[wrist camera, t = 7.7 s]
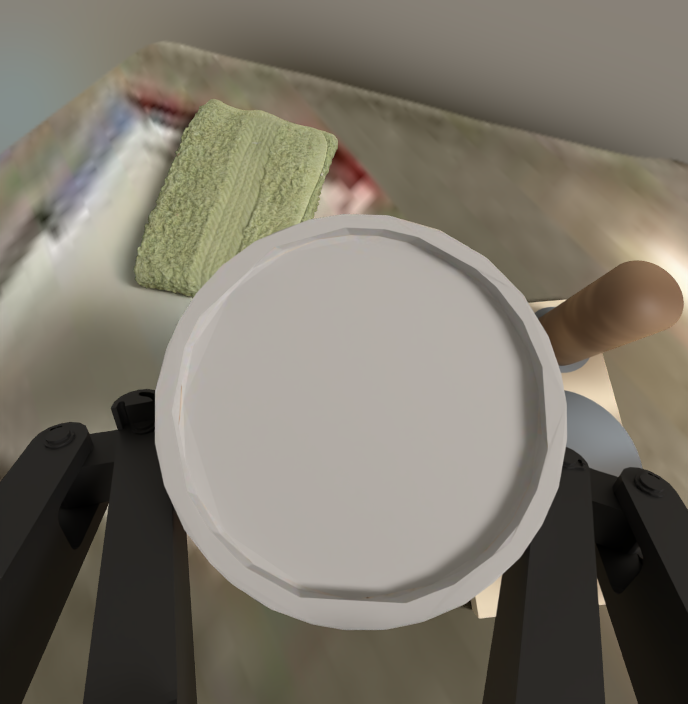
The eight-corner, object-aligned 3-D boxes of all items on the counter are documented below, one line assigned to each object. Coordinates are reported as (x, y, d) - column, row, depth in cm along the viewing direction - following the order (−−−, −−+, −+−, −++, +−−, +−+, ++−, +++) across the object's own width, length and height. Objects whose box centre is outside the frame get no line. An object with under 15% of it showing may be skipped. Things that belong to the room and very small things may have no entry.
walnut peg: (525, 315, 28) (596, 263, 20) (578, 310, 28) (669, 257, 20) (537, 368, 27) (617, 335, 19) (592, 363, 27) (694, 328, 19)
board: (426, 317, 29) (429, 311, 28) (583, 303, 29) (594, 296, 28) (472, 610, 24) (479, 619, 23) (661, 589, 24) (678, 596, 23)
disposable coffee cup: (402, 316, 21) (483, 154, 9) (466, 488, 19) (677, 558, 7) (236, 365, 20) (95, 256, 8) (282, 551, 18) (180, 749, 6)
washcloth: (343, 145, 34) (343, 114, 30) (291, 327, 29) (285, 312, 26) (203, 117, 34) (190, 84, 31) (133, 291, 30) (108, 272, 27)
